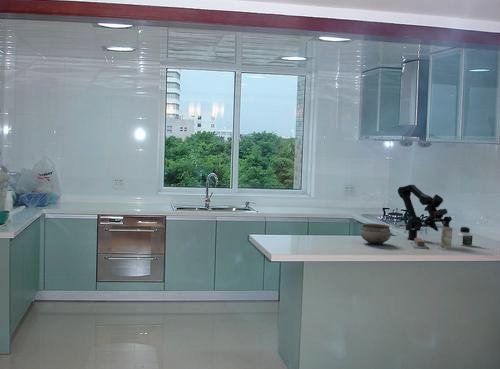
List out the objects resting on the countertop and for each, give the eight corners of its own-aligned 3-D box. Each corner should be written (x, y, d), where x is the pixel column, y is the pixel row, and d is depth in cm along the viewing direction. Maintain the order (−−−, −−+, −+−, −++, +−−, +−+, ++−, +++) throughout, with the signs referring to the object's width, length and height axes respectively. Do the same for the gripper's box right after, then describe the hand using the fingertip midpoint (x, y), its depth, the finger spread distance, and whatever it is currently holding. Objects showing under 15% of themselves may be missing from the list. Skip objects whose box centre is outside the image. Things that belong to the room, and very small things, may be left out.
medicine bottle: (462, 245, 395) (463, 227, 394) (456, 244, 402) (457, 226, 401) (472, 245, 397) (473, 227, 396) (465, 244, 404) (467, 226, 403)
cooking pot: (350, 242, 390) (351, 223, 389) (369, 240, 402) (370, 222, 401) (381, 248, 370) (382, 228, 370) (400, 245, 383) (401, 226, 382)
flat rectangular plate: (409, 243, 396) (410, 237, 396) (423, 244, 395) (424, 238, 395) (413, 248, 376) (414, 241, 376) (428, 248, 375) (429, 242, 375)
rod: (440, 247, 386) (442, 226, 385) (446, 246, 387) (447, 226, 387) (445, 248, 381) (446, 227, 381) (451, 248, 383) (452, 227, 382)
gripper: (427, 204, 387) (438, 223, 378) (450, 204, 394) (461, 223, 385) (419, 215, 395) (429, 234, 385) (442, 215, 402) (452, 233, 392)
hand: (443, 230), depth 387 cm, fingers open, 9 cm apart
